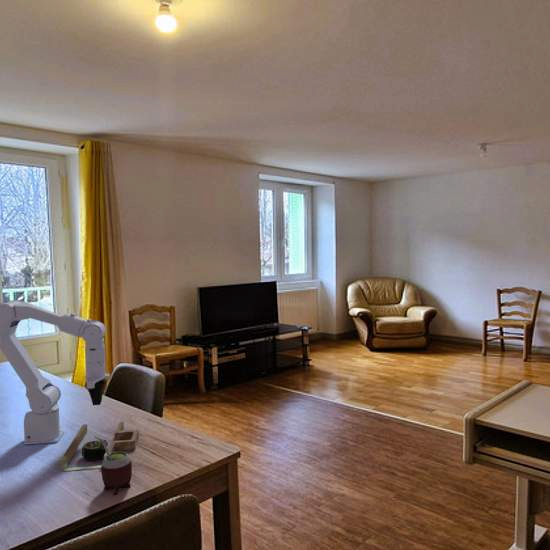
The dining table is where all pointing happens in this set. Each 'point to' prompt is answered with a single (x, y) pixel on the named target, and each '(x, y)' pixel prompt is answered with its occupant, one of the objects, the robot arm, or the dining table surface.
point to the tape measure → (93, 450)
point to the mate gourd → (116, 470)
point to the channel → (122, 442)
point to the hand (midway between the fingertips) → (97, 404)
